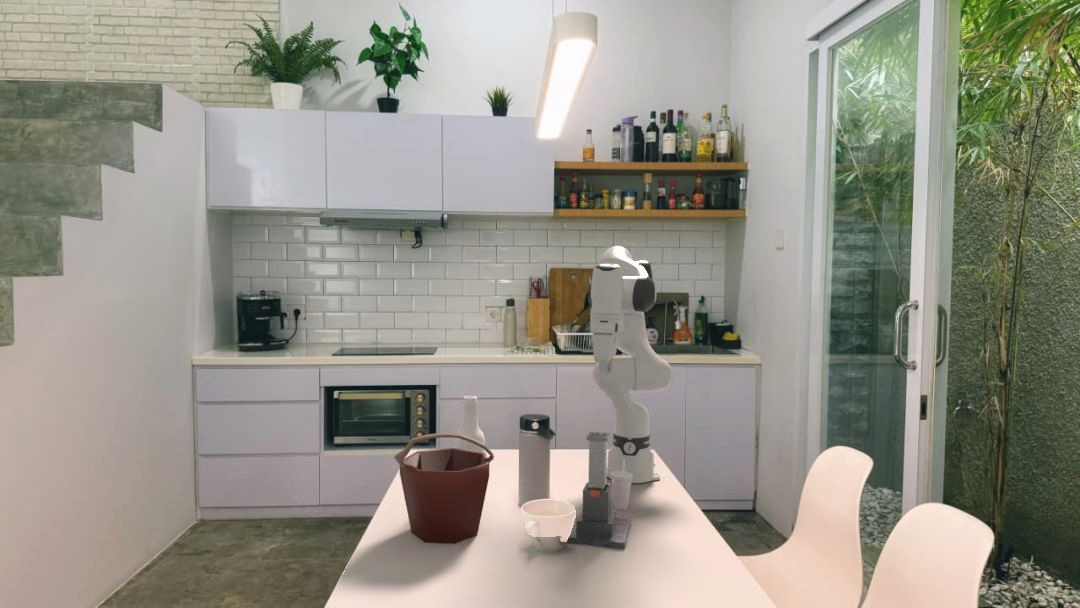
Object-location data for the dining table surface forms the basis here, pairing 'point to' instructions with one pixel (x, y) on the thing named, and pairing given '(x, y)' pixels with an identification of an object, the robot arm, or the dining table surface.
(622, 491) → the smoothie
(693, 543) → the dining table surface
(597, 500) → the base
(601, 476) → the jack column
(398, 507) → the dining table surface
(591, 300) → the robot arm
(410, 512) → the bucket
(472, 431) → the white bottle
